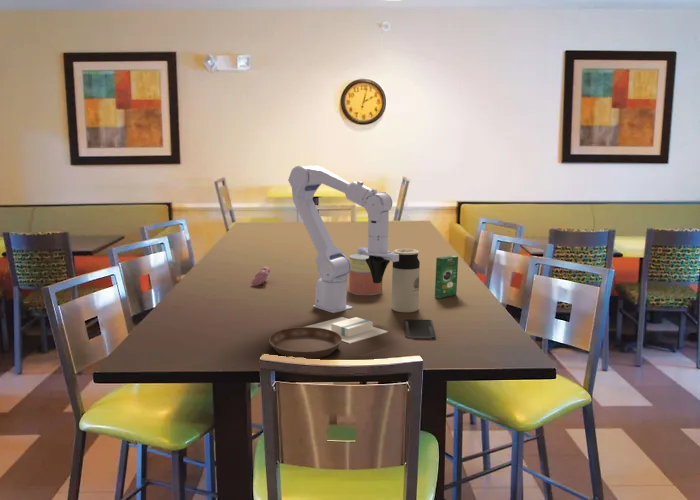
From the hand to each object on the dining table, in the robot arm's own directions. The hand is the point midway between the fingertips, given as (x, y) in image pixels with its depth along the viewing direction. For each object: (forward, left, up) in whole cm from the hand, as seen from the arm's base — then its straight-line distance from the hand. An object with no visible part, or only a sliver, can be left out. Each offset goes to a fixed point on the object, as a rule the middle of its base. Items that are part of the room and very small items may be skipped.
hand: (377, 282), depth 179 cm
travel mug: (+1, +11, -10) cm, 15 cm away
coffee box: (-1, +33, -10) cm, 35 cm away
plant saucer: (+8, -33, -10) cm, 36 cm away
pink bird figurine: (-56, -1, -10) cm, 57 cm away
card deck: (+3, -16, -8) cm, 18 cm away
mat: (+4, -16, -10) cm, 19 cm away
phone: (+17, -1, -10) cm, 20 cm away
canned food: (-23, +18, -10) cm, 31 cm away
